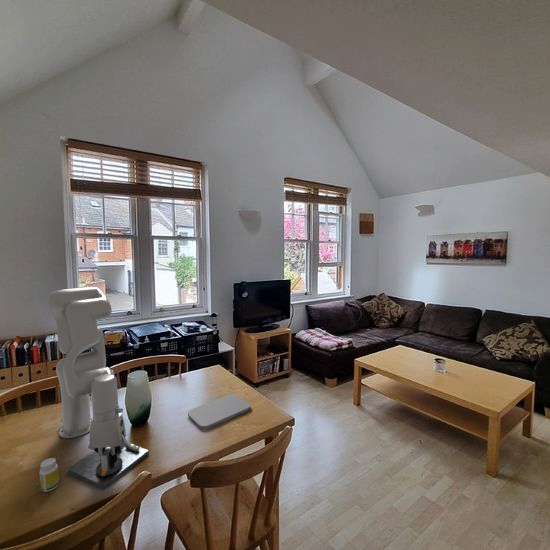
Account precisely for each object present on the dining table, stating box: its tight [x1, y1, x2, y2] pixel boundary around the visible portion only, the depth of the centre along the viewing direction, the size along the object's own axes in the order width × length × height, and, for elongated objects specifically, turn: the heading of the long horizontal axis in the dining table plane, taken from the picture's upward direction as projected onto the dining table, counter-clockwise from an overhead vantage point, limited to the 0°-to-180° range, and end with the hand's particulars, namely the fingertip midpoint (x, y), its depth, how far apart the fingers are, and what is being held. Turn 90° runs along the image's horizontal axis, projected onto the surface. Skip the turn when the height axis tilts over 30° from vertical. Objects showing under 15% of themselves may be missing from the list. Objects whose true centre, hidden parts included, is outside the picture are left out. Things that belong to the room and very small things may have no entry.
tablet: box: [187, 393, 251, 430], centre depth 140 cm, size 16×26×2 cm, turn 131°
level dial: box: [96, 447, 123, 477], centre depth 102 cm, size 9×8×7 cm
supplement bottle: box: [38, 457, 60, 493], centre depth 97 cm, size 5×5×8 cm
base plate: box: [67, 441, 149, 491], centre depth 107 cm, size 18×18×3 cm
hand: (109, 463), depth 103 cm, fingers closed on level dial, 2 cm apart
